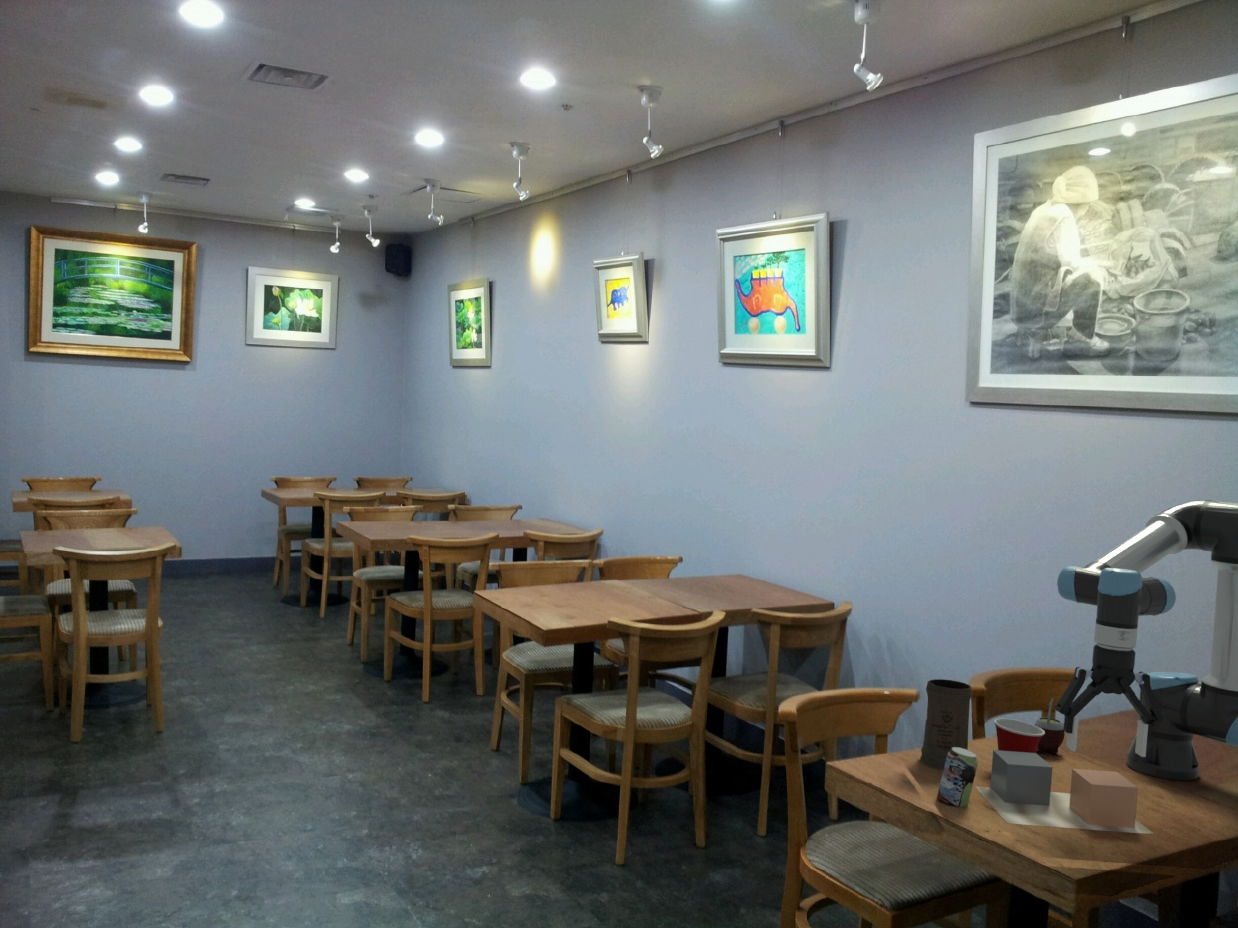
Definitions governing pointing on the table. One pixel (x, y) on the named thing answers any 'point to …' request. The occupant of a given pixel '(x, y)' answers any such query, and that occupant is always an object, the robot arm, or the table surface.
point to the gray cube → (1021, 777)
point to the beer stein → (945, 720)
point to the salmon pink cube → (1103, 798)
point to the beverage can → (957, 777)
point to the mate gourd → (1050, 733)
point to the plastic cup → (1017, 735)
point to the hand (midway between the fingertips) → (1105, 752)
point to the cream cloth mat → (1048, 813)
